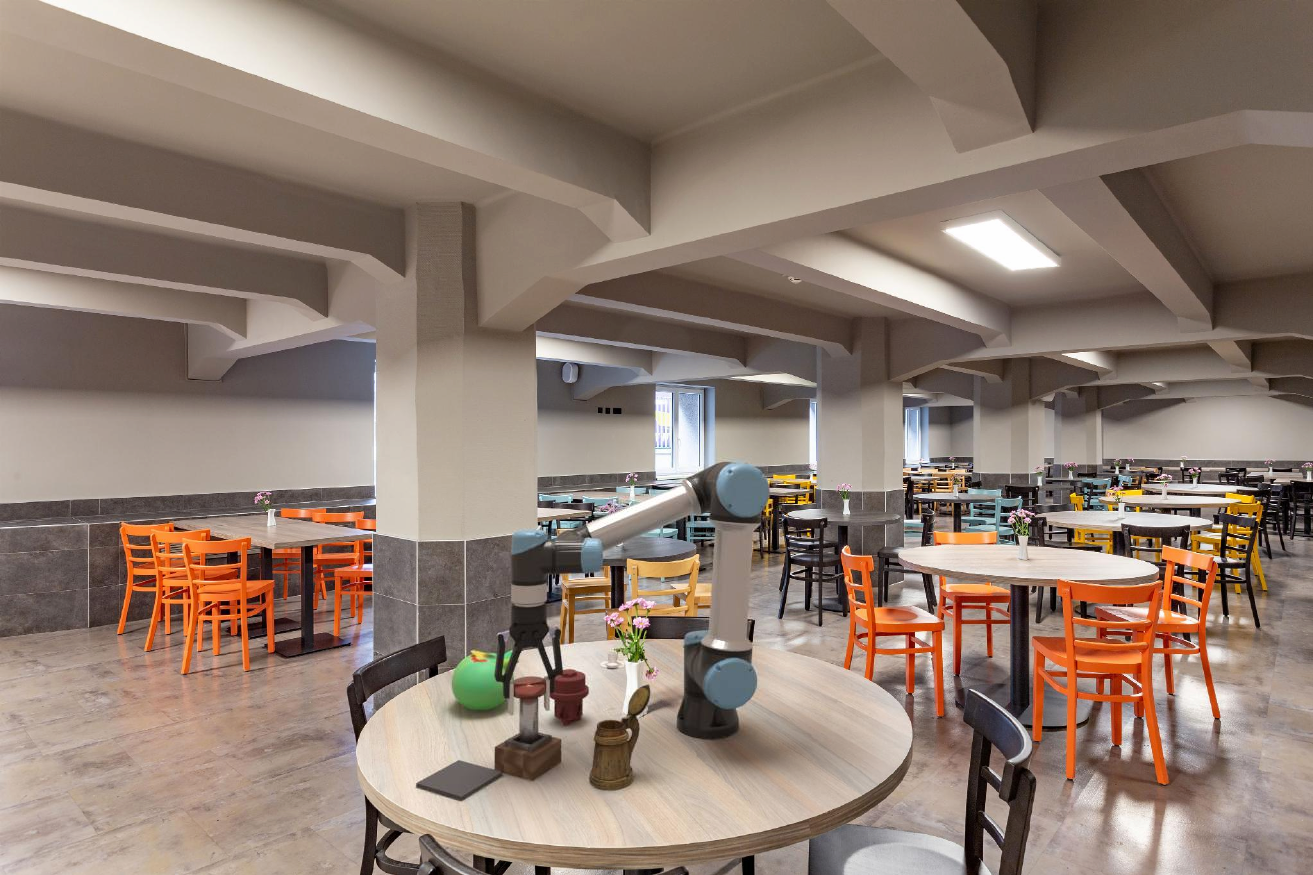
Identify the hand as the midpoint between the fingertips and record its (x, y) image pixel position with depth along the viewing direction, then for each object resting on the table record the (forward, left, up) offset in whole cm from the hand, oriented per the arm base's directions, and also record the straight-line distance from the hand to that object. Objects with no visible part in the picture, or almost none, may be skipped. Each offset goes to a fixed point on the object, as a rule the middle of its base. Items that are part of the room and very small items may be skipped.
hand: (528, 710), depth 154 cm
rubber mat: (+8, +12, -12) cm, 19 cm away
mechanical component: (+7, -25, -12) cm, 29 cm away
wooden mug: (-20, -5, -12) cm, 24 cm away
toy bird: (+32, -23, -12) cm, 41 cm away
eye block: (0, 0, -12) cm, 12 cm away
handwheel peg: (0, 0, -9) cm, 9 cm away
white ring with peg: (+23, -68, -13) cm, 73 cm away
